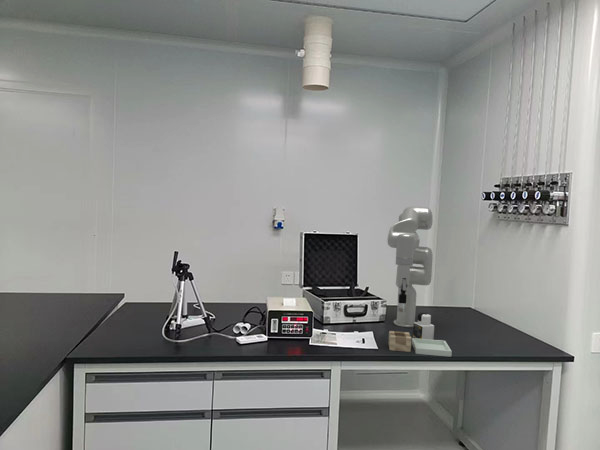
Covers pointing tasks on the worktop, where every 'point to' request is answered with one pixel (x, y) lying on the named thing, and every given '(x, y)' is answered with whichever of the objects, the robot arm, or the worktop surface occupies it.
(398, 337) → the beech block
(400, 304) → the cylinder
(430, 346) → the tray
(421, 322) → the medicine bottle
